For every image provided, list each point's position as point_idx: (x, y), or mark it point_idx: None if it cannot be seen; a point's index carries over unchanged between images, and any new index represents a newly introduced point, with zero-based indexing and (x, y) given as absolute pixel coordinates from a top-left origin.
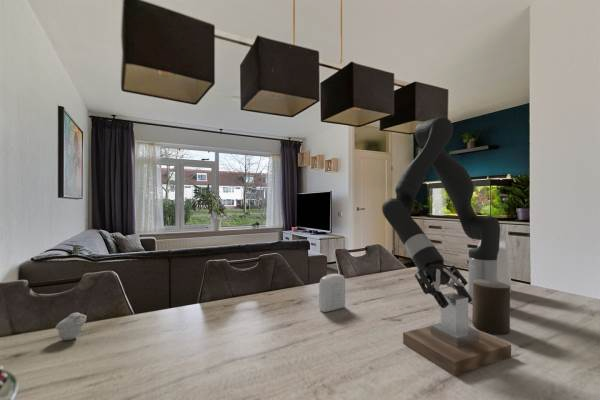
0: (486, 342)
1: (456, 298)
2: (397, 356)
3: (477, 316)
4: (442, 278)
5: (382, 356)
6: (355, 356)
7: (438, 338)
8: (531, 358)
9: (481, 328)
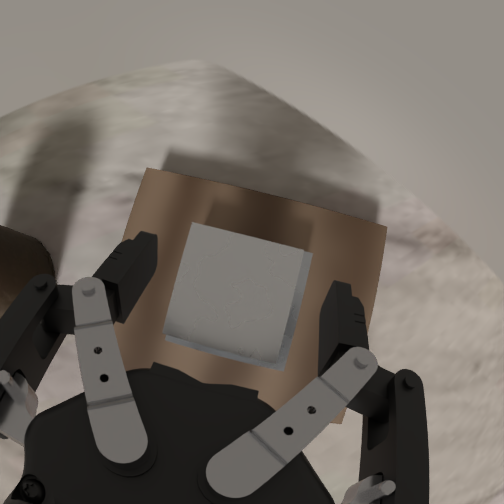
0: (187, 216)
1: (270, 262)
2: None
3: None
4: (217, 409)
5: (429, 391)
6: (465, 417)
7: None
8: (129, 151)
9: None
